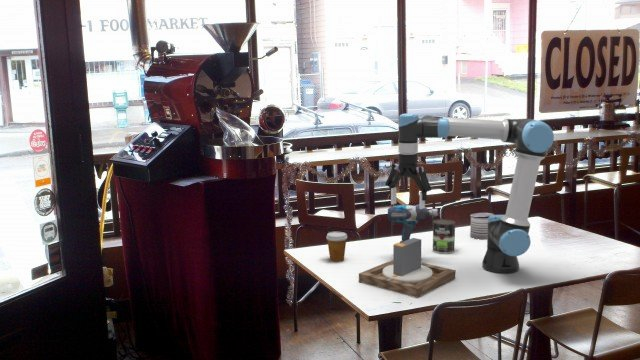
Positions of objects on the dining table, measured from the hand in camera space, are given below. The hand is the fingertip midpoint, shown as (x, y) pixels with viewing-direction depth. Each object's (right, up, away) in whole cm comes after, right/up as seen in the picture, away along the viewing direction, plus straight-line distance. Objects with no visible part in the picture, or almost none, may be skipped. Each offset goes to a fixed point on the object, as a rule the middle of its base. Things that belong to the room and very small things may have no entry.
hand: (407, 206), depth 251 cm
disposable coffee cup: (-27, -26, +34) cm, 50 cm away
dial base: (+1, -30, +5) cm, 31 cm away
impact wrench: (+7, -25, +33) cm, 42 cm away
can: (+47, -19, +68) cm, 84 cm away
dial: (+1, -28, +5) cm, 29 cm away
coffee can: (+23, -23, +45) cm, 55 cm away
